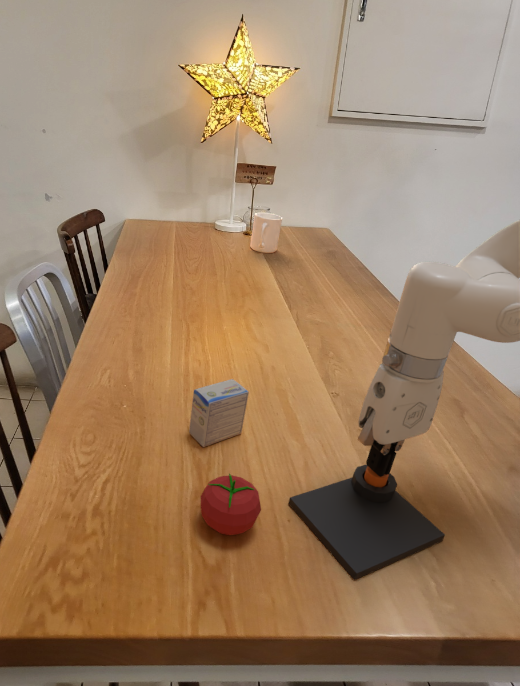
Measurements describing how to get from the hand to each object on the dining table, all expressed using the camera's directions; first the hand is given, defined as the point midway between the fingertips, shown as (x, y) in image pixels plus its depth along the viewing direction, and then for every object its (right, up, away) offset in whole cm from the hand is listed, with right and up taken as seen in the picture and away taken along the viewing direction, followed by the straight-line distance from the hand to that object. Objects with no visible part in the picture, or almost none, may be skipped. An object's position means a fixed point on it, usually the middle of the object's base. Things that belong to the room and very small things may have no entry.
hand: (377, 469), depth 78 cm
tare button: (0, -2, +1) cm, 2 cm away
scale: (-3, -7, -3) cm, 8 cm away
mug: (-8, +52, +109) cm, 121 cm away
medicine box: (-24, +3, +11) cm, 26 cm away
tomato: (-22, -6, -7) cm, 24 cm away
